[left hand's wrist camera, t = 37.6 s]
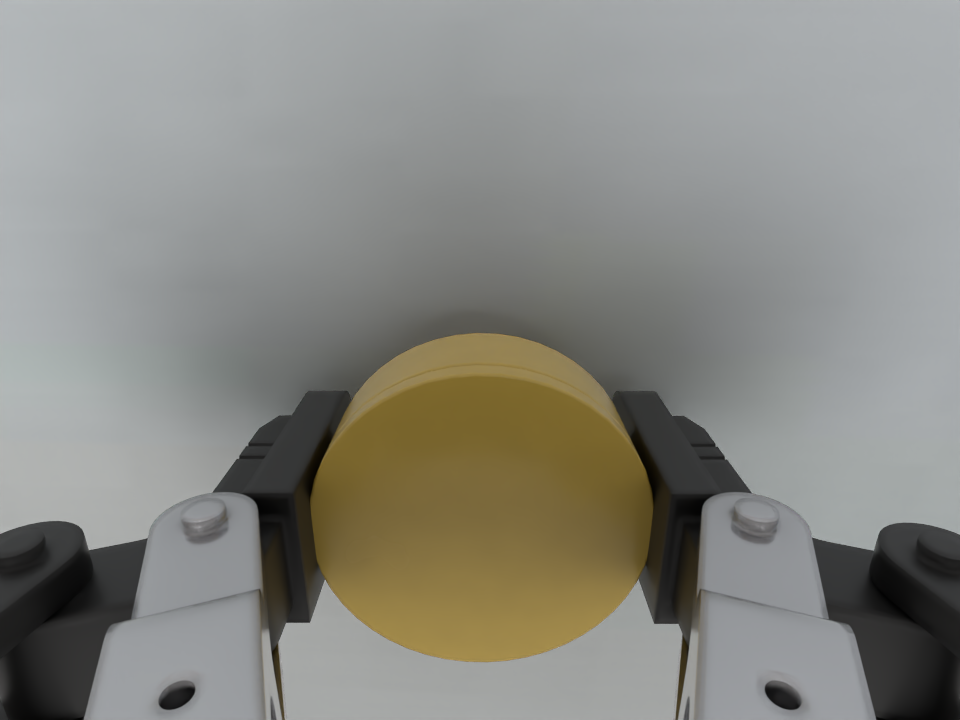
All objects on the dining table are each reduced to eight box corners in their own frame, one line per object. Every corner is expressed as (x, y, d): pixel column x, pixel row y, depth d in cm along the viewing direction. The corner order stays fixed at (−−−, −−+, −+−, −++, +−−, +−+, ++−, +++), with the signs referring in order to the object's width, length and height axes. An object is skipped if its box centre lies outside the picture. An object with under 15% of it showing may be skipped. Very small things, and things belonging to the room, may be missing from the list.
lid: (317, 336, 10) (282, 379, 8) (636, 326, 10) (668, 367, 8) (352, 589, 12) (330, 667, 10) (620, 582, 11) (643, 659, 10)
